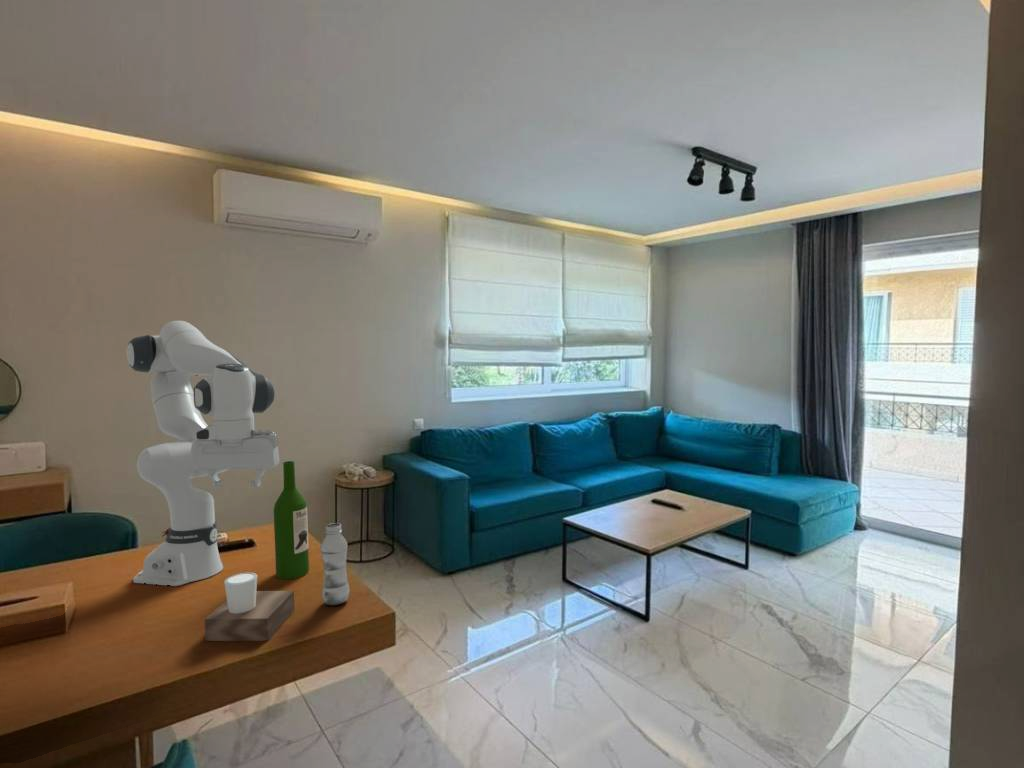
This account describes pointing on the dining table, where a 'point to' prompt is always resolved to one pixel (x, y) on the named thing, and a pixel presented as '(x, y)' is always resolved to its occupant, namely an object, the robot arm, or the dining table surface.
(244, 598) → the white cup
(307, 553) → the wine bottle
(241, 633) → the block
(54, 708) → the dining table surface
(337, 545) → the plastic bottle
